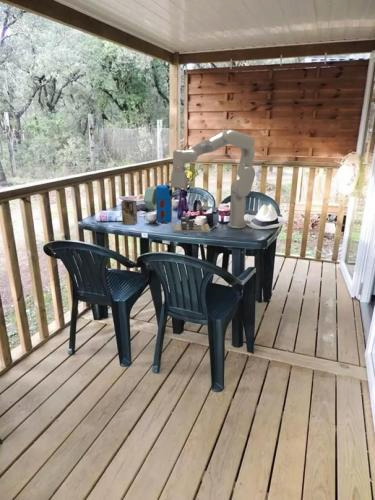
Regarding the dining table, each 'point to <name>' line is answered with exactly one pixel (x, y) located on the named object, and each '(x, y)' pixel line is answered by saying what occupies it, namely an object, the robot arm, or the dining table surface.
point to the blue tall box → (163, 204)
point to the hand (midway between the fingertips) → (178, 196)
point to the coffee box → (129, 212)
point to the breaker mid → (191, 223)
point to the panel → (190, 228)
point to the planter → (150, 198)
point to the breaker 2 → (184, 225)
